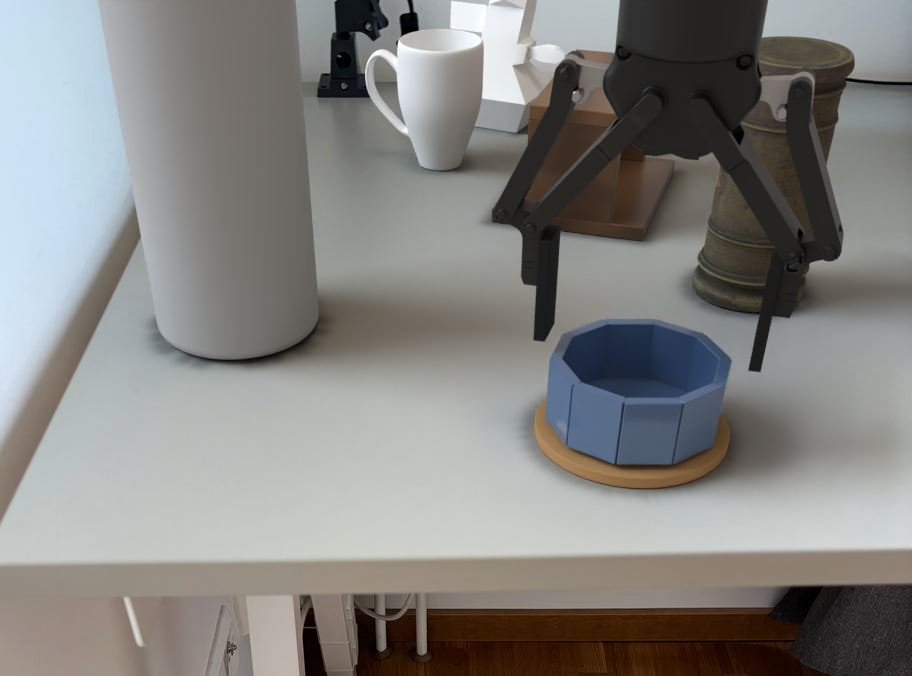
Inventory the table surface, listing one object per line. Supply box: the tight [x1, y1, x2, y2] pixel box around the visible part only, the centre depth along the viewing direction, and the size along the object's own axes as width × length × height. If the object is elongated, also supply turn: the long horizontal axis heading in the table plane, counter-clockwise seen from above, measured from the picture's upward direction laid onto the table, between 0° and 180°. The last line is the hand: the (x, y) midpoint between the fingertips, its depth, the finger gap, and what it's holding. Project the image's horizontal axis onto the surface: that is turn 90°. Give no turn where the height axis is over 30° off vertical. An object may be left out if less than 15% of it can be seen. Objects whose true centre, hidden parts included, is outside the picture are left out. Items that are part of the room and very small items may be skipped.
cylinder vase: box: [97, 0, 320, 361], centre depth 77 cm, size 12×12×25 cm
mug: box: [364, 28, 484, 171], centre depth 108 cm, size 12×8×11 cm
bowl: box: [545, 318, 733, 465], centre depth 71 cm, size 11×12×5 cm
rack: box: [491, 48, 676, 242], centre depth 102 cm, size 14×18×10 cm
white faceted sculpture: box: [449, 0, 568, 134], centre depth 117 cm, size 8×14×14 cm, turn 64°
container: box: [691, 35, 856, 313], centre depth 84 cm, size 9×9×18 cm
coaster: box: [533, 396, 731, 489], centre depth 73 cm, size 13×13×1 cm
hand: (647, 346), depth 69 cm, fingers open, 13 cm apart
